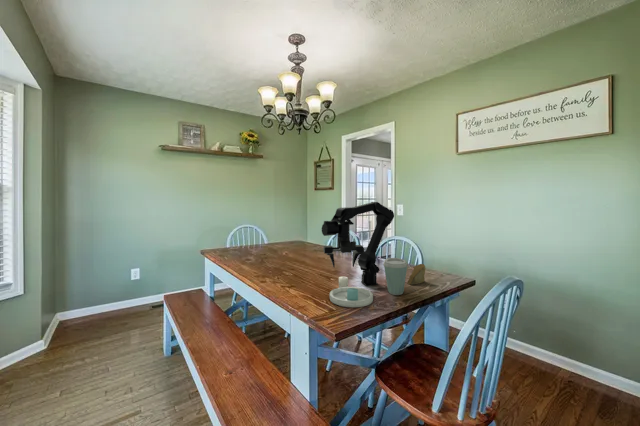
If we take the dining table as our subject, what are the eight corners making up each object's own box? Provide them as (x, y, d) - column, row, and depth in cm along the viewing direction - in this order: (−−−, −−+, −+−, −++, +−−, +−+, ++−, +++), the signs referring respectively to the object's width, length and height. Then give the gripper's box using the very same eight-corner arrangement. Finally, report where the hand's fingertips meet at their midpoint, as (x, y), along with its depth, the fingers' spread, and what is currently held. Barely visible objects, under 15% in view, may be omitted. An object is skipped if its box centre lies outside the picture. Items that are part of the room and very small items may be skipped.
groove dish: (362, 290, 132) (362, 285, 132) (380, 304, 115) (380, 298, 115) (324, 294, 127) (324, 289, 127) (337, 309, 110) (337, 303, 110)
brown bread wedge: (410, 282, 137) (430, 279, 138) (404, 265, 142) (424, 262, 142) (405, 289, 146) (424, 286, 147) (400, 274, 151) (418, 271, 152)
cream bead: (346, 286, 139) (346, 276, 139) (349, 289, 135) (349, 278, 134) (337, 287, 138) (337, 276, 137) (340, 289, 133) (340, 279, 133)
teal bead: (345, 302, 115) (345, 290, 115) (350, 299, 119) (350, 287, 119) (354, 304, 113) (354, 292, 112) (360, 301, 116) (360, 289, 116)
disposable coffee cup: (411, 296, 125) (412, 262, 124) (388, 297, 123) (388, 263, 122) (401, 288, 135) (401, 257, 134) (379, 289, 133) (379, 258, 133)
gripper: (325, 237, 126) (326, 272, 127) (367, 236, 128) (367, 270, 128) (323, 233, 137) (323, 266, 138) (361, 233, 139) (361, 264, 140)
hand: (343, 267), depth 136 cm, fingers open, 9 cm apart
